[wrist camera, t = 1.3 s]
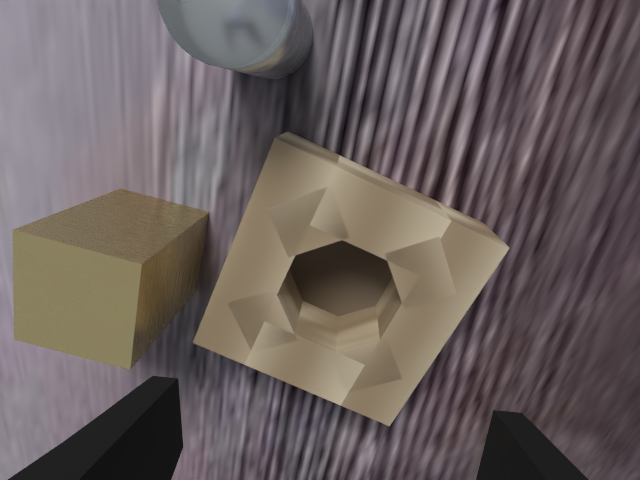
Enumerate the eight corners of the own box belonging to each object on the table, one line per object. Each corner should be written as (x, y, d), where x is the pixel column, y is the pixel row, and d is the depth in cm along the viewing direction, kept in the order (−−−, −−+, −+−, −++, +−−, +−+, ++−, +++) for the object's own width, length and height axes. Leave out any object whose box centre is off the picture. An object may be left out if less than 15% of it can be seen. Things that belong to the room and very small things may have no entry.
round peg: (326, 8, 15) (310, -49, 9) (292, 93, 16) (259, 89, 10) (246, -31, 15) (178, -115, 9) (217, 57, 16) (140, 32, 10)
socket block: (483, 223, 17) (509, 247, 14) (384, 379, 20) (389, 426, 17) (288, 131, 16) (274, 137, 13) (216, 307, 19) (192, 342, 16)
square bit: (209, 211, 18) (141, 264, 12) (196, 290, 19) (130, 370, 13) (121, 188, 18) (12, 229, 12) (114, 268, 19) (14, 339, 13)
